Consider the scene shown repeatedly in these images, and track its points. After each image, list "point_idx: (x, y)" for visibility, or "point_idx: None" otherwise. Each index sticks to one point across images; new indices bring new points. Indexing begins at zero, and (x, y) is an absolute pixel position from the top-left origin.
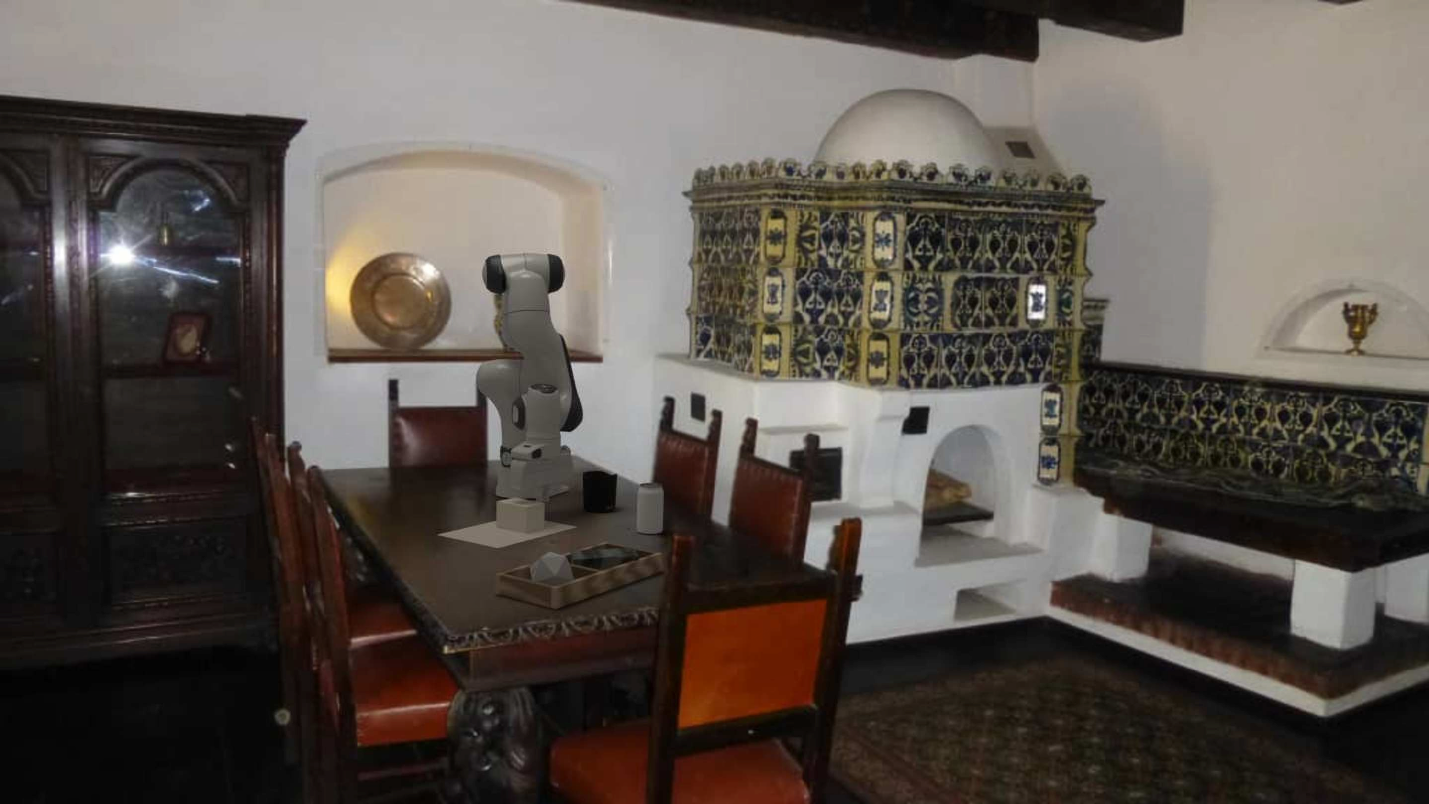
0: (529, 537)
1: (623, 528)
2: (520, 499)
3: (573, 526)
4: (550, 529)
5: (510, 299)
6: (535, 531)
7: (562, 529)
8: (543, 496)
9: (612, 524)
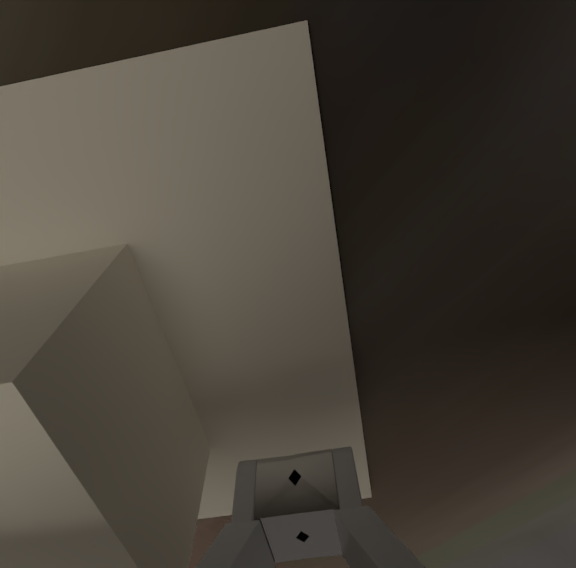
0: None
1: (515, 563)
2: (40, 475)
3: (365, 484)
4: (228, 472)
5: None
6: None
7: None
8: (283, 558)
9: (556, 510)
